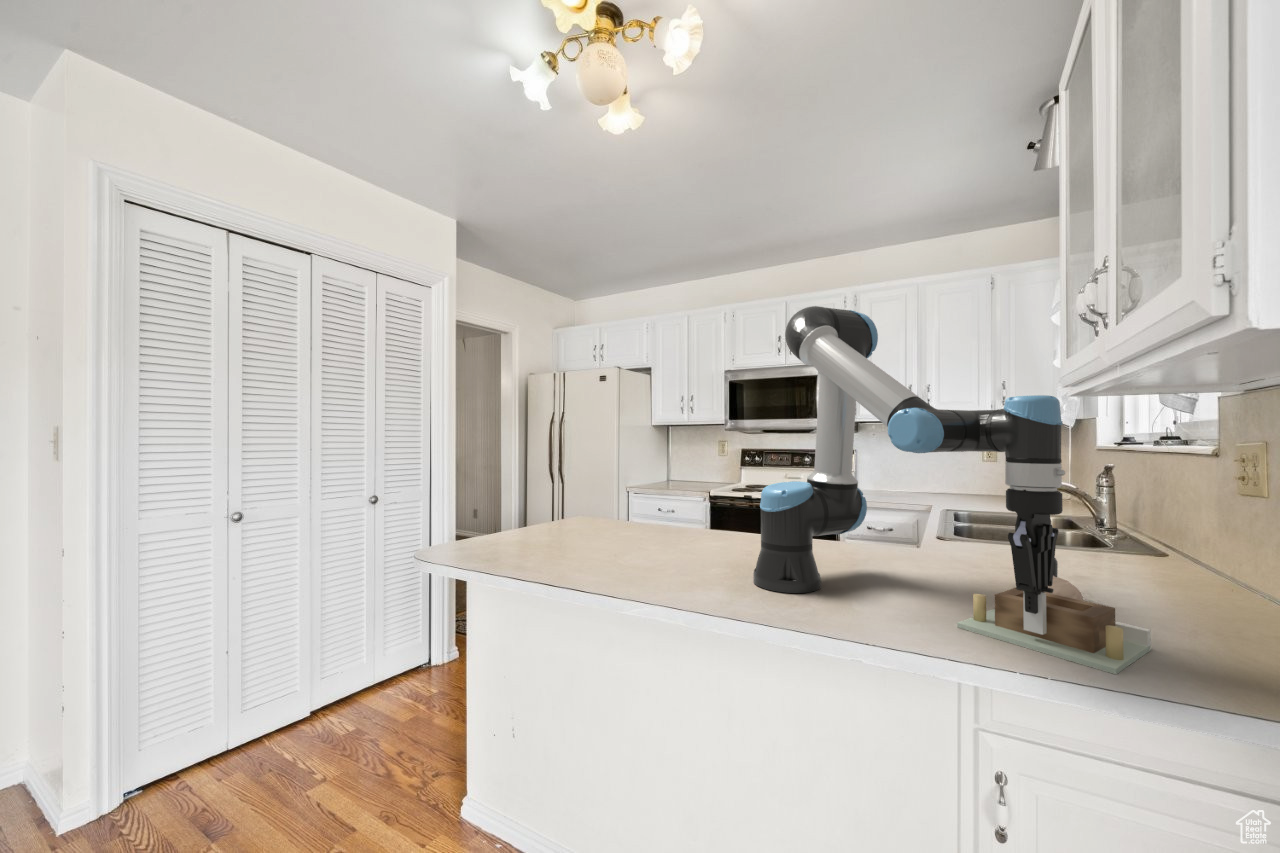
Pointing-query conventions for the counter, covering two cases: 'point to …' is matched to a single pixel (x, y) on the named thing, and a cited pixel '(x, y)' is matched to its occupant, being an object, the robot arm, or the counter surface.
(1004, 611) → the wooden box
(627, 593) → the counter surface
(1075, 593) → the garlic bulb
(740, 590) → the counter surface
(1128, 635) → the wall board
